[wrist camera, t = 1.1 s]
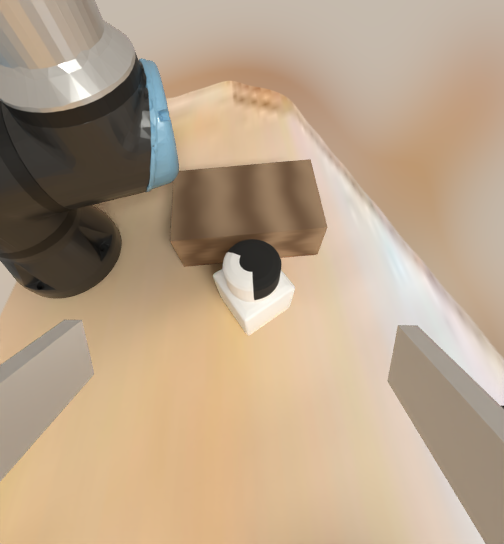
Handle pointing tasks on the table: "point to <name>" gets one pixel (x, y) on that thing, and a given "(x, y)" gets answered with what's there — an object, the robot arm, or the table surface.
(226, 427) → the table surface
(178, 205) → the walnut box
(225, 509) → the table surface
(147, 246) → the table surface
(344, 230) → the table surface
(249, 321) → the medicine bottle
